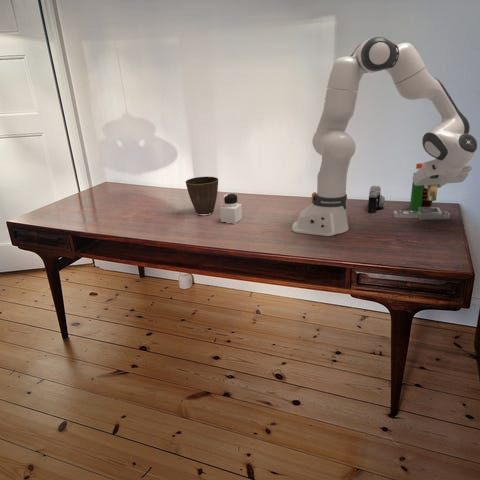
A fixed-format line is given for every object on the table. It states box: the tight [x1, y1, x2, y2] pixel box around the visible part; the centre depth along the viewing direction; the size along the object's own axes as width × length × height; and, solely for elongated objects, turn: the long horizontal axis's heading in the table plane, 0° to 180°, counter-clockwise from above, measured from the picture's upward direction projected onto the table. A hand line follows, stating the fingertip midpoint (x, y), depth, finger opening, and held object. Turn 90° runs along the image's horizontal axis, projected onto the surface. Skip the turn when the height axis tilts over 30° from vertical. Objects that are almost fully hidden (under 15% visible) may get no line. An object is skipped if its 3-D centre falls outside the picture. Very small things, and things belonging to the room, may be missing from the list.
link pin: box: [427, 184, 439, 202], centre depth 173 cm, size 4×4×9 cm
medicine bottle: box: [219, 193, 243, 224], centre depth 184 cm, size 7×7×12 cm
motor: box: [409, 162, 433, 212], centre depth 185 cm, size 10×9×20 cm
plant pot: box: [185, 176, 219, 215], centre depth 196 cm, size 15×15×16 cm
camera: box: [367, 185, 386, 214], centre depth 190 cm, size 15×7×10 cm, turn 161°
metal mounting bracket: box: [393, 206, 451, 222], centre depth 177 cm, size 22×8×3 cm, turn 74°
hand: (432, 186), depth 173 cm, fingers closed on link pin, 3 cm apart
